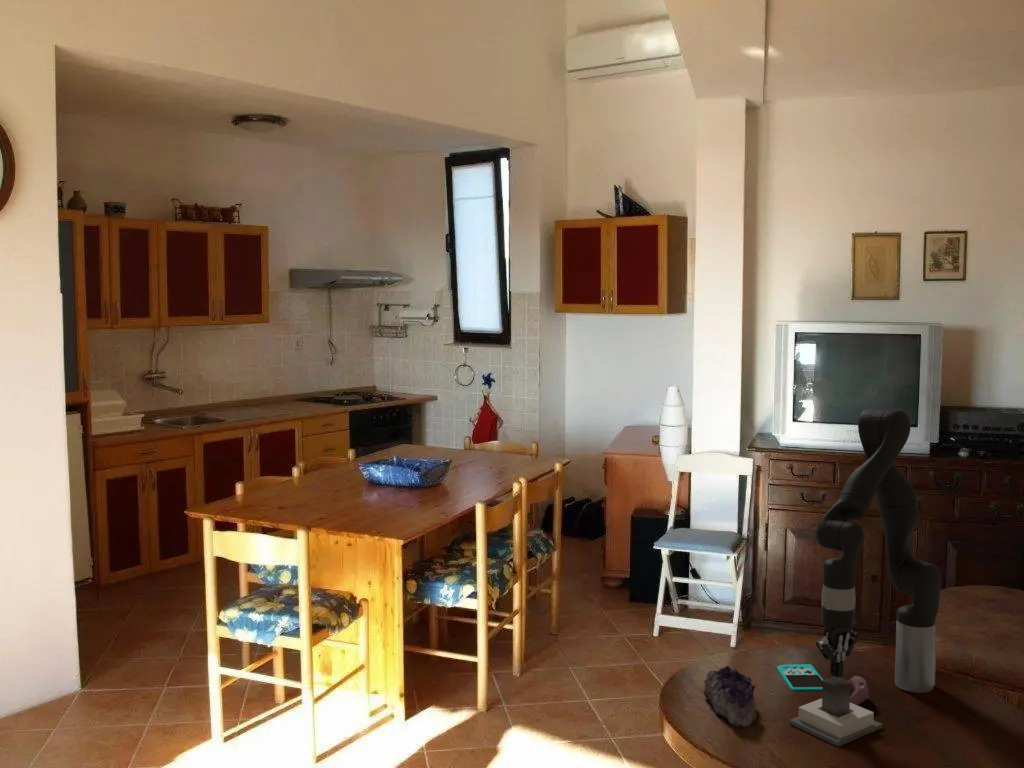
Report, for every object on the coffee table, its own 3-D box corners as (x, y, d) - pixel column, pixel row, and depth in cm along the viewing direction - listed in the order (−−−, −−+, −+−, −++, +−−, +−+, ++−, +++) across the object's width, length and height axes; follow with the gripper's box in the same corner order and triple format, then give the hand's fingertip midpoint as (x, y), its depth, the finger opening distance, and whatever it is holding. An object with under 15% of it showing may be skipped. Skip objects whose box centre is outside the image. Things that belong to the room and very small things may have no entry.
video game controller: (860, 715, 240) (874, 691, 239) (843, 706, 240) (857, 682, 239) (853, 698, 250) (866, 675, 248) (836, 690, 250) (850, 667, 249)
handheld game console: (812, 668, 267) (812, 663, 267) (830, 693, 251) (831, 687, 251) (775, 668, 267) (775, 663, 267) (791, 693, 251) (791, 688, 251)
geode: (773, 728, 231) (769, 688, 230) (726, 737, 230) (721, 697, 229) (745, 689, 251) (740, 652, 250) (701, 697, 250) (696, 660, 249)
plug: (833, 716, 234) (834, 676, 233) (849, 723, 230) (850, 682, 229) (821, 721, 232) (822, 680, 230) (837, 727, 228) (838, 686, 227)
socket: (833, 706, 241) (833, 691, 241) (882, 728, 230) (882, 711, 229) (789, 723, 233) (789, 707, 232) (838, 746, 221) (838, 729, 220)
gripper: (843, 594, 235) (841, 664, 237) (806, 605, 227) (804, 676, 229) (870, 603, 229) (867, 674, 230) (833, 614, 221) (831, 687, 223)
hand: (836, 675), depth 230 cm, fingers closed
